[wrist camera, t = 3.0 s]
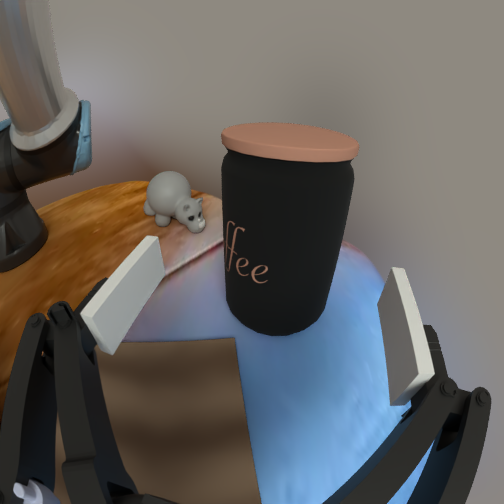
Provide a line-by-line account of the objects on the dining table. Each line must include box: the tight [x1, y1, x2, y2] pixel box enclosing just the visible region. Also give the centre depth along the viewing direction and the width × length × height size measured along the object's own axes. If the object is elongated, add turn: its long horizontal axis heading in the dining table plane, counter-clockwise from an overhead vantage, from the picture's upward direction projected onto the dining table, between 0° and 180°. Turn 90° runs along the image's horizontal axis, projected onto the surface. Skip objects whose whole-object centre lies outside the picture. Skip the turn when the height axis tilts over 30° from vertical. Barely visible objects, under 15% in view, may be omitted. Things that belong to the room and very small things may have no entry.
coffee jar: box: [221, 123, 359, 336], centre depth 25 cm, size 11×11×18 cm
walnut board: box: [53, 338, 262, 504], centre depth 16 cm, size 18×18×1 cm
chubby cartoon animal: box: [144, 171, 205, 233], centre depth 41 cm, size 7×12×8 cm, turn 53°
